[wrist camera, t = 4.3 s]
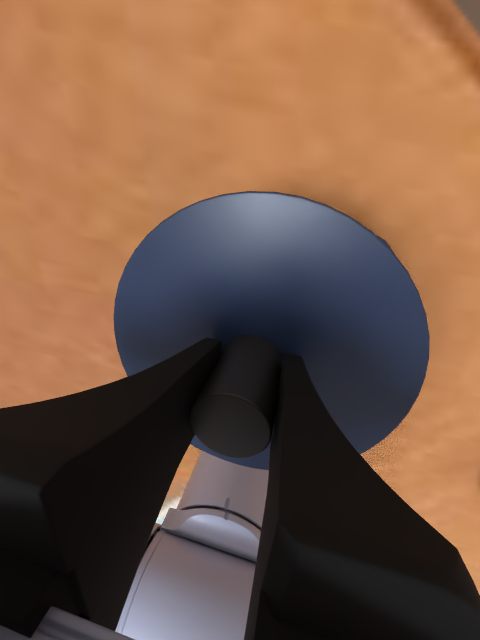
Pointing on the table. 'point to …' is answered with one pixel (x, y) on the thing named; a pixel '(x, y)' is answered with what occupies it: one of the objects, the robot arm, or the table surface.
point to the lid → (275, 317)
